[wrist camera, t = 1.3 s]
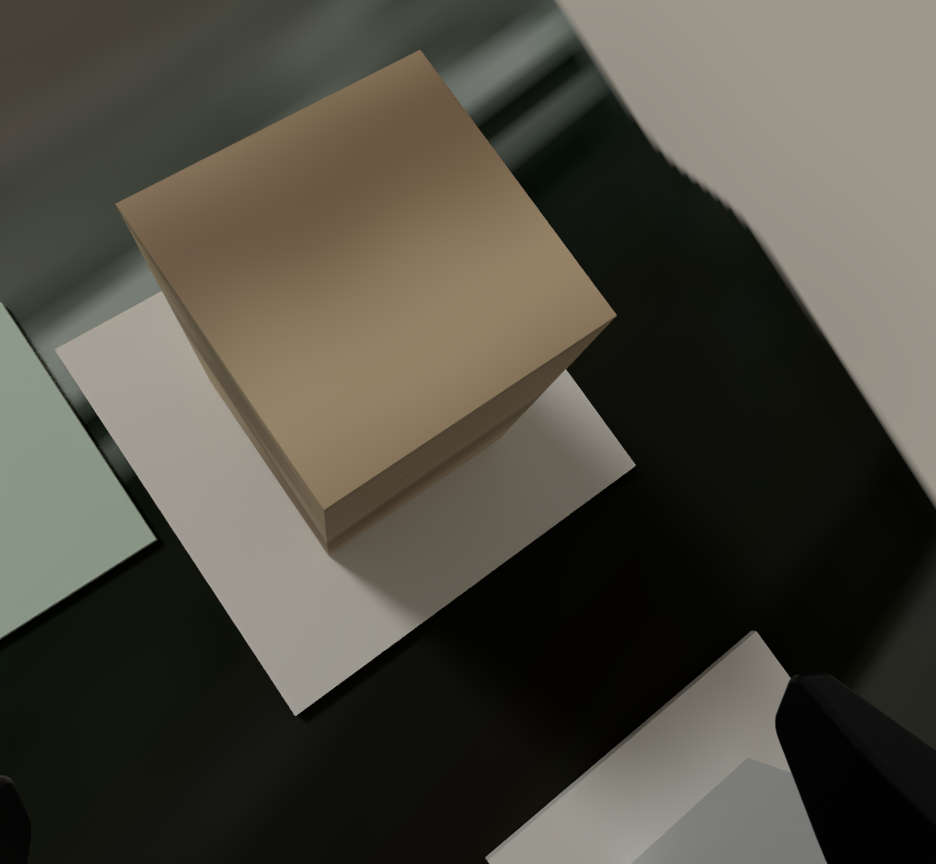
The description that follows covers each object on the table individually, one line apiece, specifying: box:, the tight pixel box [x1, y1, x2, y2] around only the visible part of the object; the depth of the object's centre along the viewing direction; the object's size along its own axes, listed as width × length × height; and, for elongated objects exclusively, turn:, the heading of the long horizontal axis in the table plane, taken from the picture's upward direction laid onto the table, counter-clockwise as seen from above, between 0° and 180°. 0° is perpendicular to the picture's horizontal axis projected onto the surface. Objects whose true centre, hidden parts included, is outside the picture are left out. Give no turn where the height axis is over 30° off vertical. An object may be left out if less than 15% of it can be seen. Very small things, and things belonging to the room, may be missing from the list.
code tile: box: [55, 291, 636, 716], centre depth 23 cm, size 12×12×1 cm
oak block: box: [116, 50, 617, 556], centre depth 18 cm, size 6×6×10 cm
